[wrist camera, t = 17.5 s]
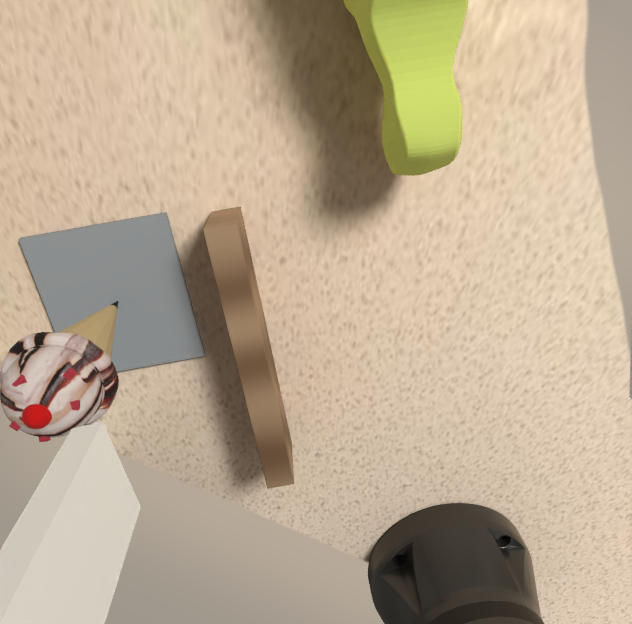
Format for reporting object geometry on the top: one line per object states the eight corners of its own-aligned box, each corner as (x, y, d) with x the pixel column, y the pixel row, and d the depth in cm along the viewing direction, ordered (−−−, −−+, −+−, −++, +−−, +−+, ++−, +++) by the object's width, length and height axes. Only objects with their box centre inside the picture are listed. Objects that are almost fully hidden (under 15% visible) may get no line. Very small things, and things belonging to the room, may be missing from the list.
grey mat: (205, 353, 40) (204, 356, 40) (75, 376, 40) (73, 379, 40) (166, 212, 36) (165, 213, 36) (20, 237, 36) (18, 239, 36)
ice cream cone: (123, 351, 39) (44, 495, 26) (57, 302, 37) (-65, 427, 24) (174, 300, 38) (120, 422, 24) (109, 246, 36) (11, 345, 22)
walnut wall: (291, 442, 44) (294, 483, 40) (268, 446, 44) (267, 488, 40) (240, 206, 36) (236, 223, 32) (211, 211, 36) (203, 229, 32)
